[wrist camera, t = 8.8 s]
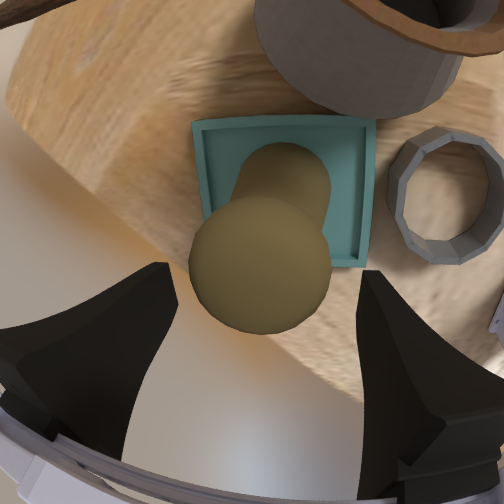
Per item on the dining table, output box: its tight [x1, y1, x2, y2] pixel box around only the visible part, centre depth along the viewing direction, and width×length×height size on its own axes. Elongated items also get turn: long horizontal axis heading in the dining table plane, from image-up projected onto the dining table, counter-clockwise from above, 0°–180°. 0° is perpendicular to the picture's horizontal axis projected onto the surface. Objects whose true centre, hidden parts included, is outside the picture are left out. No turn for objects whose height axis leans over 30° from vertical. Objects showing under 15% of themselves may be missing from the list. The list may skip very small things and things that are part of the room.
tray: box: [191, 114, 376, 268], centre depth 19 cm, size 10×11×1 cm
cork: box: [188, 142, 332, 335], centre depth 14 cm, size 6×6×11 cm
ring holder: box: [387, 126, 504, 265], centre depth 16 cm, size 9×9×2 cm
